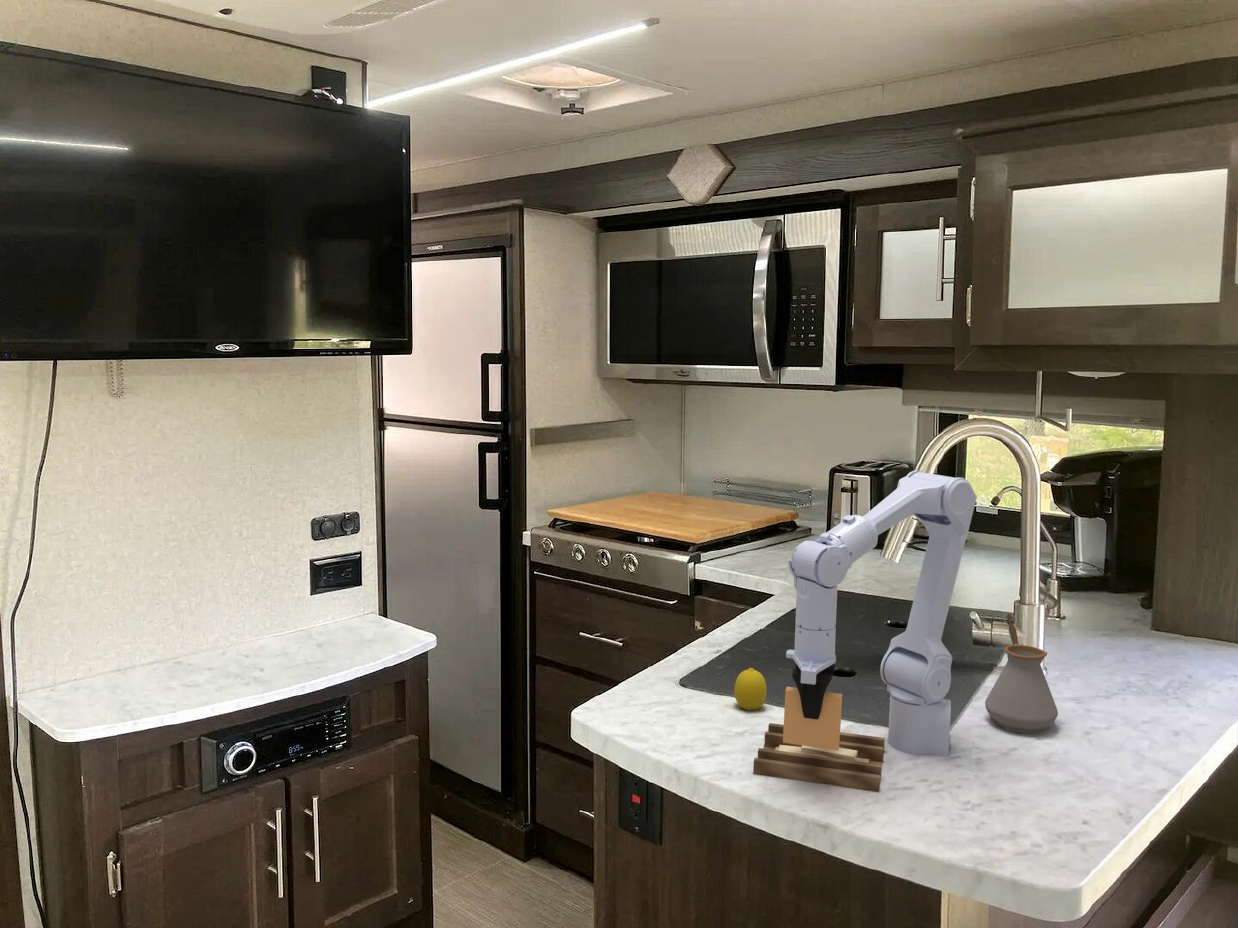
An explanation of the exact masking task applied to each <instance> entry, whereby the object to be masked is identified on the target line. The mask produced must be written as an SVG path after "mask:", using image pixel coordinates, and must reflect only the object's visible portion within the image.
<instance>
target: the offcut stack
mask: <svg viewBox="0 0 1238 928" xmlns="http://www.w3.org/2000/svg"><path fill="white" fill-rule="evenodd" d="M775 750H778V751H785V752H793V753H800V754H807V755H814V756H822V757H829V758H836V759H844V760H851V761H858V762H866V763H869V759H863V758H856V757H857V750H851V749H845V748H840V747H839V750H838V751H837V750H830V749H823V748H816V747H810V746H803V745H802V747H796V746H786V745H779V747H776V748H775Z"/></svg>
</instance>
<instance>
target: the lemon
mask: <svg viewBox="0 0 1238 928" xmlns="http://www.w3.org/2000/svg"><path fill="white" fill-rule="evenodd" d="M766 683H767V682H766V679H765V677H764V676H763V674H762V673H761V672H759V671H758V670H756V669H754V668H753V667H749V668H748V669H745V670H743V671H742V672H740V673H739V674H738V676H737V678H736V680H735V684H734V688H733V689H734V697H735V700H736V703H737V704H738V705H739V707H740V708H742V709H744V710H747V711H756V710H758V709H760V708H761V707H762V706H763V705H764V703H765V702H766V699H767V696H768V695H767V688H768V687H767V684H766Z"/></svg>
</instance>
